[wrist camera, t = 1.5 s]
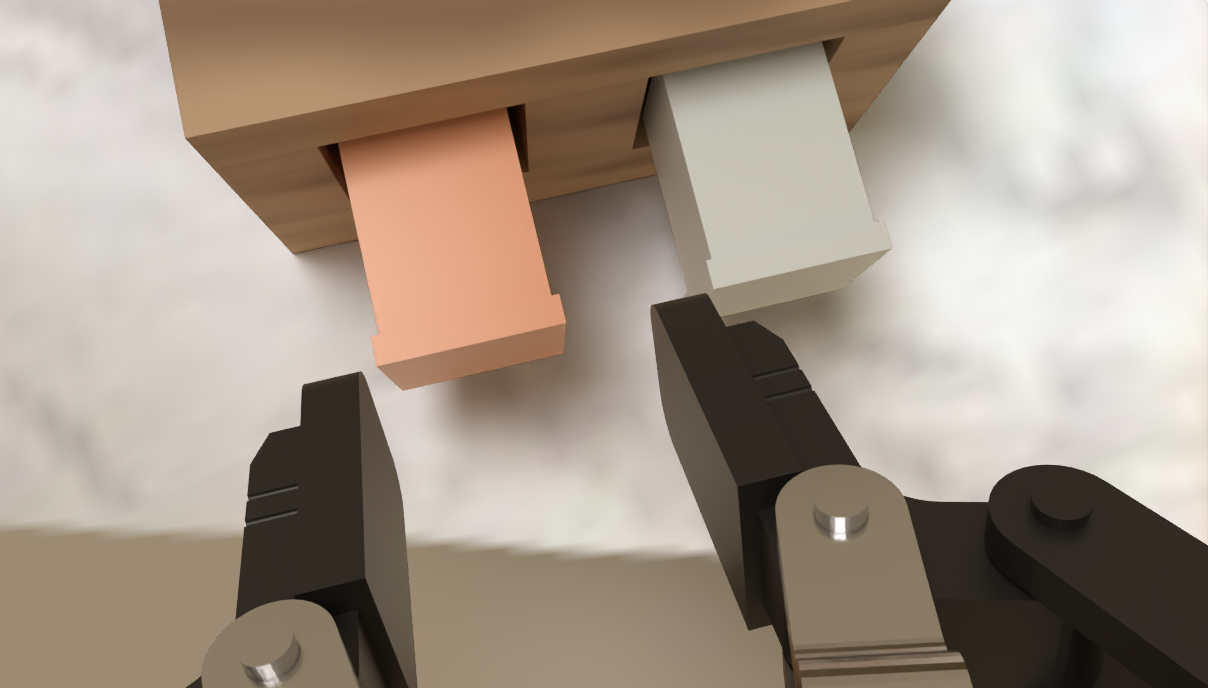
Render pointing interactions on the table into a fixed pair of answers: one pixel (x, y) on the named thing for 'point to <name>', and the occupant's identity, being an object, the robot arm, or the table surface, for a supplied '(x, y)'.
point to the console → (478, 81)
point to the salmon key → (450, 250)
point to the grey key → (761, 179)
